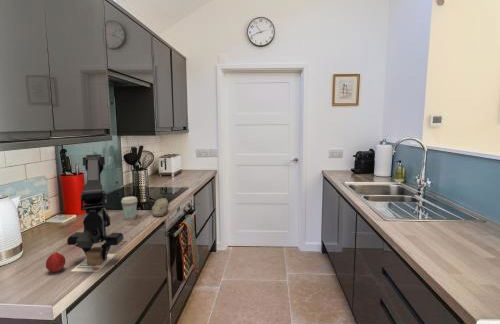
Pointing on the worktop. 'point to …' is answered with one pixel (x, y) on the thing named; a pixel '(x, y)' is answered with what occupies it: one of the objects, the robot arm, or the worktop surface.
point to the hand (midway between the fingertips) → (97, 259)
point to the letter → (92, 268)
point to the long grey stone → (160, 207)
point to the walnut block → (95, 256)
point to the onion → (55, 262)
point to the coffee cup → (129, 207)
